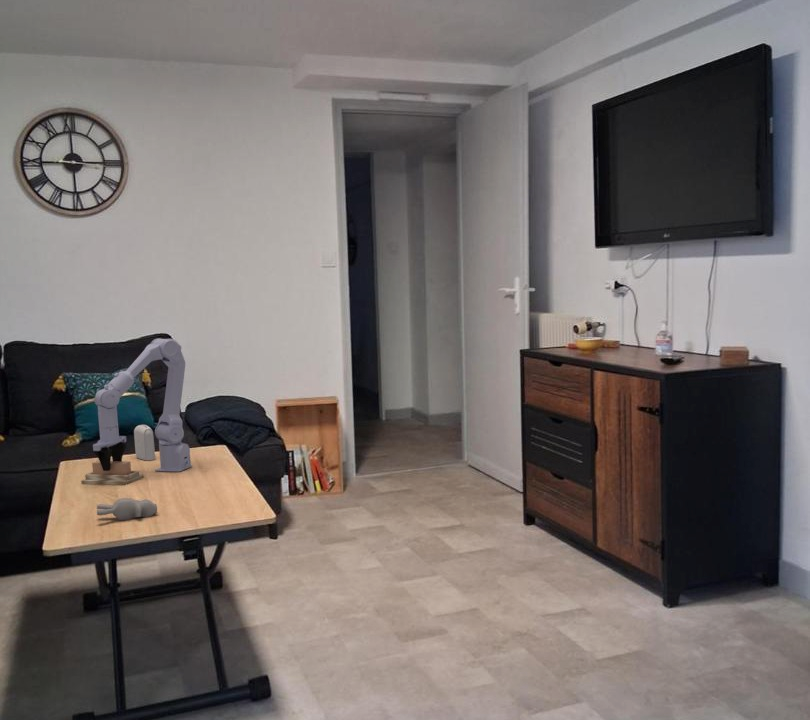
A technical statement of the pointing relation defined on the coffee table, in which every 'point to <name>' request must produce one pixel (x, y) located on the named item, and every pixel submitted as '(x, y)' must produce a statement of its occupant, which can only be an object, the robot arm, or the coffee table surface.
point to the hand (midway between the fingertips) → (112, 468)
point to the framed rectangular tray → (112, 478)
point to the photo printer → (144, 443)
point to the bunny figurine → (128, 508)
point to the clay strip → (112, 468)
